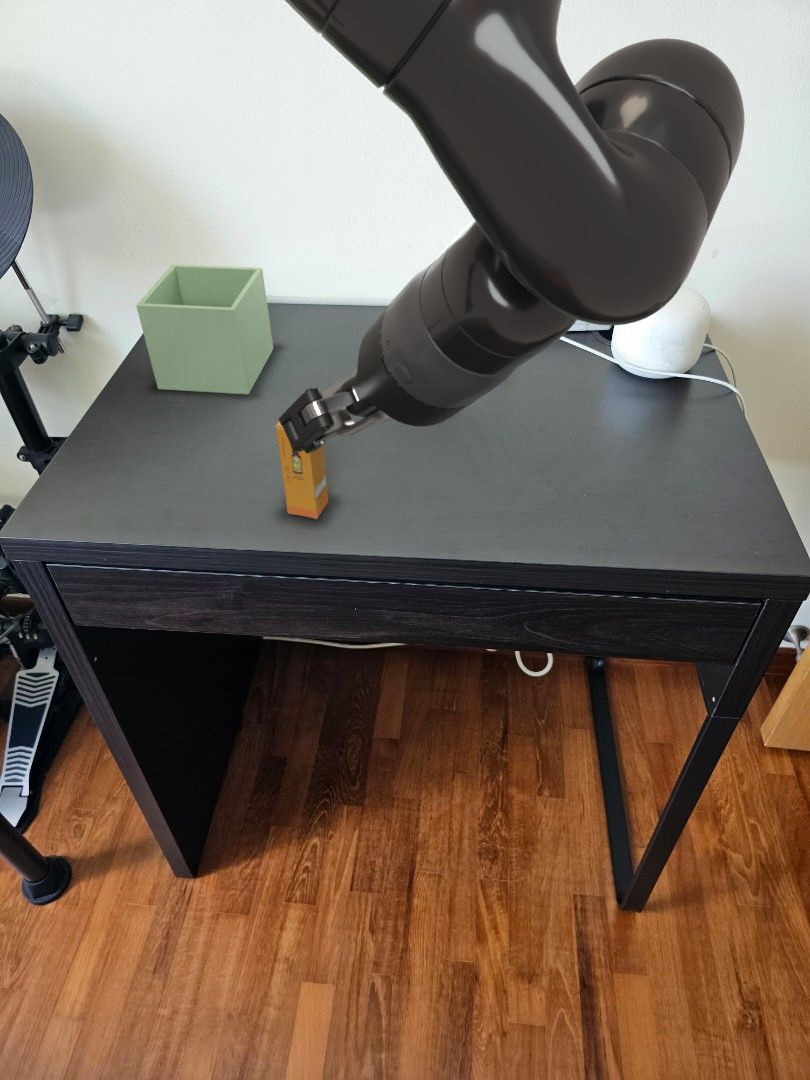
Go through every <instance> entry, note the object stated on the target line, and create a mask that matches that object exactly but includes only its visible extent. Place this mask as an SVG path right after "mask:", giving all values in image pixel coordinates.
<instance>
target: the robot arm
mask: <svg viewBox="0 0 810 1080" xmlns="http://www.w3.org/2000/svg"><path fill="white" fill-rule="evenodd" d="M282 1H283V2H285V4H286V5H287V6H288V7H289V8H290V9H291V10H292V11H293V12H294V13H295V14H296V15H297V16H298V17H299V18H301V20H302V21H303V22H305V23H306V24H307V25H308V26H309V27H310V29H312V30H313V31H314V32H315V33H316V34H317V35H320V36H321V39H323V40H324V41H325V42H326V43H327V44H328V45H329V46H330V47H331V48H332V49H333V50H334V51H335V52H337V53H338V55H340V56H341V57H342V58H343V59H344V60H345V61H346V62H348V64H349V65H350V66H352V67H353V68H354V69H355V70H356V71H357V72H358V73H359V74H360V75H361V76H362V77H364V78H365V80H367V81H368V83H370V84H371V85H372V86H373V87H374V88H375V89H377V90H378V89H379V90H380V89H381V93H382V95H383V96H384V97H385V98H386V99H388V100H389V101H390V102H391V103H392V104H393V105H394V106H396V107H397V108H398V109H399V110H400V111H401V112H402V113H404V114H405V116H406V118H408V119H409V121H410V122H411V123H412V125H413V126H414V127H415V129H416V131H417V133H418V134H419V135H420V137H421V138H422V140H423V142H424V143H425V145H426V147H427V149H428V150H429V151H430V153H431V155H432V157H433V158H434V160H435V162H436V163H437V165H438V167H439V168H440V170H441V171H442V173H443V174H444V176H445V178H446V179H447V180H448V182H449V183H450V185H451V186H452V188H453V189H454V190H455V192H456V193H457V195H458V197H459V198H460V200H461V201H462V203H463V205H464V206H465V207H466V209H467V210H468V212H469V214H470V216H471V217H472V218H473V219H472V221H470V223H468V224H466V226H465V227H464V228H463V229H462V230H461V231H460V232H459V233H458V234H457V235H456V236H455V237H454V238H453V239H452V240H451V242H450V243H449V244H448V245H447V246H446V247H445V248H444V249H443V250H442V251H441V252H440V254H439V255H438V256H437V257H436V258H435V259H434V260H433V262H432V263H430V264H428V265H427V266H426V267H425V268H423V269H421V270H420V271H418V273H417V274H416V275H414V276H413V277H412V278H411V280H409V281H408V282H407V284H406V285H405V286H404V287H403V288H402V289H401V291H400V292H399V293H398V294H396V296H395V297H394V299H392V300H391V302H390V303H389V304H388V305H387V306H386V307H385V309H384V310H383V311H382V312H381V313H379V316H377V318H376V319H375V320H374V321H373V322H372V324H370V326H369V327H368V328H367V330H366V331H365V333H364V335H363V337H362V339H361V341H360V345H359V349H358V355H357V366H355V367H354V368H353V369H352V372H351V373H350V374H349V375H348V376H345V377H344V378H342V379H340V380H338V381H337V382H334V383H333V384H332V385H330V386H329V387H327V388H325V389H324V390H322V392H321V390H320V387H315V388H314V387H311V388H307V389H306V390H305V391H304V392H303V393H302V394H301V395H300V396H298V398H297V399H296V400H295V401H294V402H293V403H292V404H291V405H290V406H289V407H288V408H287V409H286V410H285V411H284V412H283V413H282V414H281V415H280V416H279V418H278V422H279V421H280V423H281V425H282V426H283V428H284V431H285V433H286V435H287V437H288V440H289V442H290V444H291V448H292V450H293V452H296V451H299V452H301V451H303V450H304V451H305V452H306V453H307V454H308V453H311V452H314V451H316V450H317V449H318V448H320V447H321V446H322V445H323V446H324V445H325V444H326V443H327V442H328V441H329V440H331V439H333V438H335V437H337V436H339V437H341V438H346V437H350V436H354V435H356V434H358V433H360V432H362V431H364V430H365V429H367V428H369V427H371V426H374V425H375V424H381V423H387V422H389V421H391V420H394V421H396V422H399V423H401V424H403V425H407V426H412V427H431V426H434V425H439V424H441V423H444V422H445V421H447V420H449V419H450V418H452V417H453V416H454V415H456V414H458V413H459V412H461V411H462V410H464V409H465V408H467V407H468V406H470V405H472V404H473V403H475V402H477V401H478V400H479V399H481V398H482V397H484V396H485V395H487V394H489V393H490V392H492V391H494V390H495V389H496V388H497V387H499V386H500V385H501V384H503V383H504V382H505V381H506V380H507V379H508V378H509V377H510V376H511V375H512V374H513V373H514V372H515V371H516V370H517V369H518V368H520V367H521V366H523V365H524V364H526V363H528V361H530V360H532V359H533V358H534V357H536V356H537V355H540V354H541V353H543V351H545V350H546V349H548V348H549V347H551V346H552V345H554V344H555V343H556V342H557V341H559V340H560V339H562V337H563V336H564V335H566V334H567V333H568V331H570V330H571V328H572V327H573V326H574V325H575V323H576V322H578V321H581V322H584V323H588V324H592V325H599V326H624V325H628V324H633V323H637V322H639V321H642V320H645V319H648V317H651V316H652V315H654V314H656V313H657V312H659V311H660V310H662V309H663V308H664V307H666V305H667V304H669V303H670V301H672V300H673V298H674V297H675V296H676V295H677V293H678V292H679V290H680V289H681V288H682V286H683V284H684V283H685V282H686V280H687V278H688V276H689V274H690V273H691V270H692V268H693V266H694V264H695V261H696V260H697V257H698V256H699V253H700V250H701V247H702V245H703V243H704V240H705V238H706V236H707V234H708V231H709V229H710V226H711V224H712V221H713V219H714V217H715V214H716V213H717V210H718V207H719V205H720V202H721V201H722V198H723V196H724V194H725V191H726V189H727V188H728V184H729V182H730V181H731V180H730V179H731V177H732V175H733V172H734V170H735V167H736V166H737V165H736V164H738V163H737V162H738V160H739V157H740V154H741V150H742V145H743V139H744V135H745V133H744V132H745V121H746V120H745V109H744V101H743V96H742V92H741V89H740V87H739V83H738V82H737V79H736V78H735V76H734V74H733V72H732V71H731V69H730V68H729V66H728V65H727V63H725V62H724V60H722V59H721V58H720V57H719V56H718V55H717V54H716V53H714V52H713V51H711V50H709V49H708V48H706V47H704V46H702V45H700V44H698V43H695V42H691V41H688V40H684V39H679V38H678V39H677V38H667V37H666V38H654V39H648V40H647V39H646V40H642V41H639V42H635V43H632V44H628V45H627V46H624V47H622V48H619V49H618V50H616V51H614V52H612V53H611V54H609V55H607V56H606V57H604V58H602V59H601V60H599V61H598V62H597V63H596V64H594V65H593V66H592V67H591V68H590V69H589V70H587V72H585V73H584V75H583V76H582V77H581V78H580V79H579V80H578V81H576V83H575V85H574V82H573V81H572V79H571V77H570V76H569V73H568V72H567V70H566V67H565V65H564V63H563V61H562V59H561V56H560V53H559V47H558V42H557V38H558V37H557V35H558V24H559V18H560V13H561V8H562V7H561V6H562V1H563V0H282ZM351 415H352V416H355V417H361V419H359V420H358V421H356V422H355V421H354V420H353V418H352V416H351Z"/></svg>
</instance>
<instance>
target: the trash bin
mask: <svg viewBox="0 0 810 1080" xmlns="http://www.w3.org/2000/svg"><path fill="white" fill-rule="evenodd" d="M135 306H136V311H137V314H138V317H139V321H140V325H141V329H142V333H143V337H144V341H145V345H146V348H147V349H146V350H147V353H148V356H149V360H150V364H151V368H152V371H153V375H154V379H155V384H156V387H157V389H158V390H167V391H168V390H169V391H183V392H185V391H186V392H201V393H217V394H218V393H219V394H232V395H234V394H235V395H249V394H250V393H251V391H252V389H253V388H254V385H255V384H256V382H257V380H258V379H259V377H260V374H261V372H262V371H263V369H264V367H265V365H266V364H267V362H268V360H269V358H270V356H271V354H272V353H273V351H274V349H275V347H274V341H273V335H272V329H271V327H272V326H271V322H270V313H269V307H268V299H267V292H266V286H265V278H264V271H263V267H249V266H248V267H247V266H222V265H202V264H201V265H197V264H177V263H176V264H175V263H174V264H173V263H172V264H171V265H170V266H169V267H168V268H167V270H166V271H165V272H164V273H163V274H162V276H161V277H160V278H159V279H158V280H157V281H156V282H155V283H154V284H153V285H152V287H151V288H150V289H149V290H148V292H146V294H145V295H144V296H143V297H142V298H141V299H140V300H139V302H137V303H136V305H135Z"/></svg>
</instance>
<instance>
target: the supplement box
mask: <svg viewBox="0 0 810 1080" xmlns="http://www.w3.org/2000/svg"><path fill="white" fill-rule="evenodd" d="M275 432H276V433H275V434H276V437H277V438H276V439H277V447H278V452H279V459H280V466H281V474H282V481H283V490H284V495H285V503H286V504H285V505H286V512H287V514H289V515H293V516H301V517H306V518H310V519H313V520H318V519H319V517H320V516H321V515H322V512H323V511H324V510H325V508H326V506H327V505H328V503H329V492H328V484H327V473H326V465H325V454H324V444H323V445H322V446H321V447H320V448H318V449H317V450H316V451H314V452H311V453H308V454H307V453H306V452H305V451H304V450H303V451H301V452H299V451H296V452H293V450H292V448H291V444H290V442H289V440H288V437H287V435H286V433H285V431H284V428H283V426H282V425H281V423H280V421H279V420H278V422H277V423H276V424H275Z"/></svg>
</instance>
